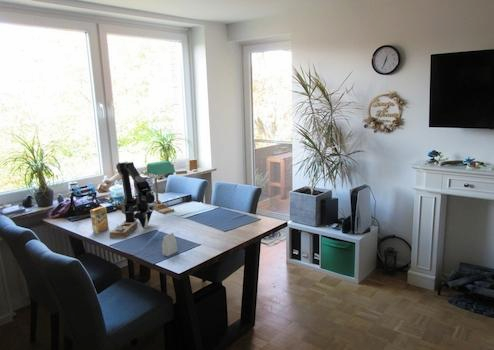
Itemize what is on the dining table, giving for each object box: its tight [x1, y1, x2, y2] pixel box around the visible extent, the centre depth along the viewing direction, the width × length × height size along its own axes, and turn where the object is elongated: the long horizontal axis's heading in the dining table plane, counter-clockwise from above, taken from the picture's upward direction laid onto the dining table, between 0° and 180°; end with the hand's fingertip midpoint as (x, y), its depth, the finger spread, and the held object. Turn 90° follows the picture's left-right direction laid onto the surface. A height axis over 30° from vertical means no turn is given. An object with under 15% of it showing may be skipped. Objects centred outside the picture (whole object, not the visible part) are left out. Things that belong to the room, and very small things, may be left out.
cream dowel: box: [142, 214, 149, 229], centre depth 239 cm, size 3×3×9 cm
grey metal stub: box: [116, 223, 123, 231], centre depth 227 cm, size 3×3×6 cm
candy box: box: [89, 205, 110, 234], centre depth 236 cm, size 9×4×15 cm, turn 150°
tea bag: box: [161, 232, 178, 257], centre depth 199 cm, size 4×7×10 cm, turn 146°
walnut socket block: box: [109, 222, 138, 239], centre depth 232 cm, size 18×9×4 cm, turn 174°
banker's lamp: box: [146, 160, 176, 215], centre depth 276 cm, size 16×21×35 cm
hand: (145, 225), depth 240 cm, fingers open, 7 cm apart
